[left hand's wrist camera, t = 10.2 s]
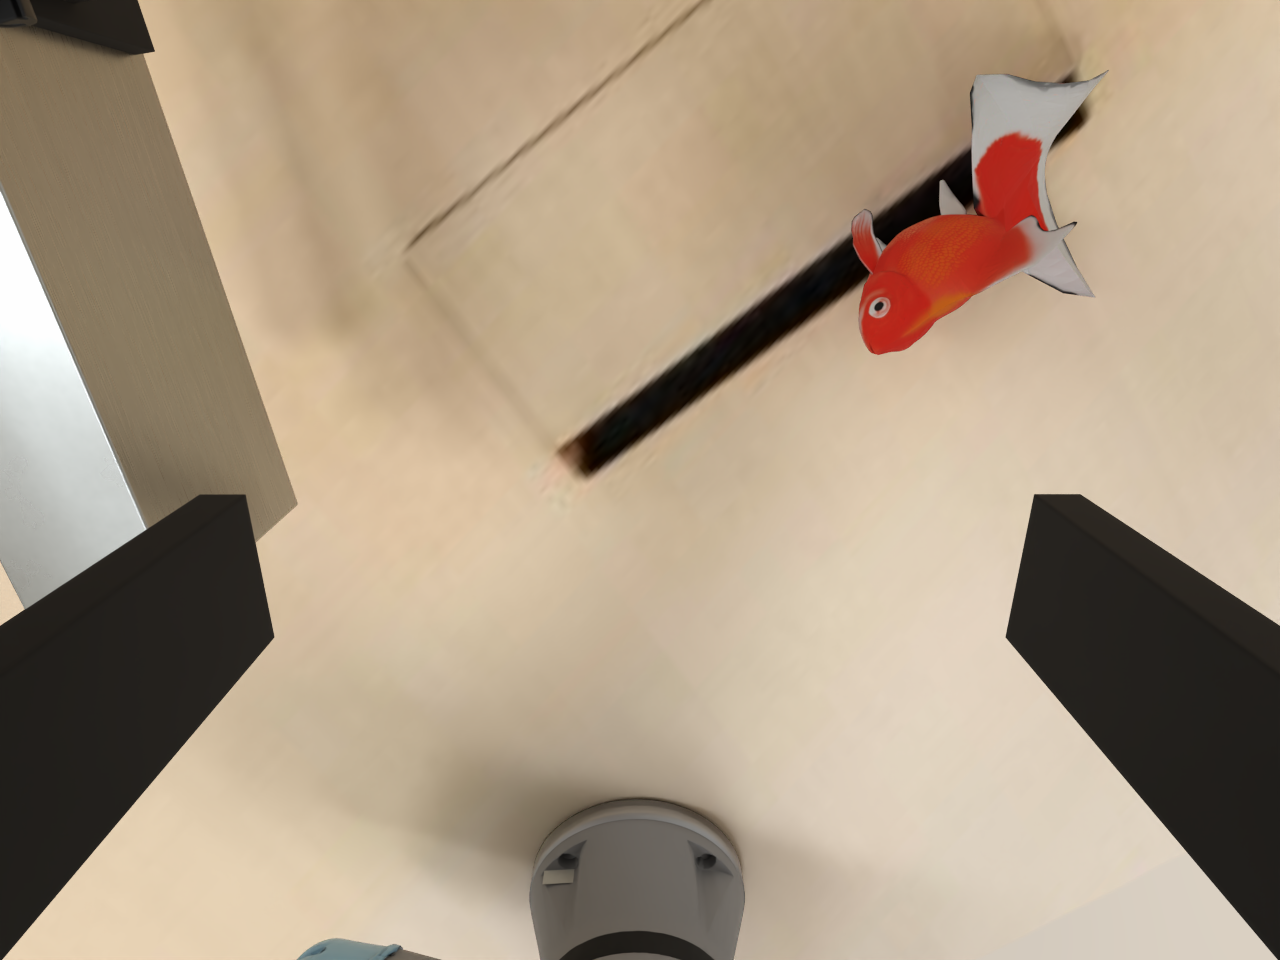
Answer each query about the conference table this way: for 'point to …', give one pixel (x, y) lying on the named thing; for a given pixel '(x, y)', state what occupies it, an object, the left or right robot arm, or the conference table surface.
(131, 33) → the right robot arm
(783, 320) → the conference table surface
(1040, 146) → the fish
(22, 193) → the bar
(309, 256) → the conference table surface
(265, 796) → the conference table surface
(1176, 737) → the left robot arm
